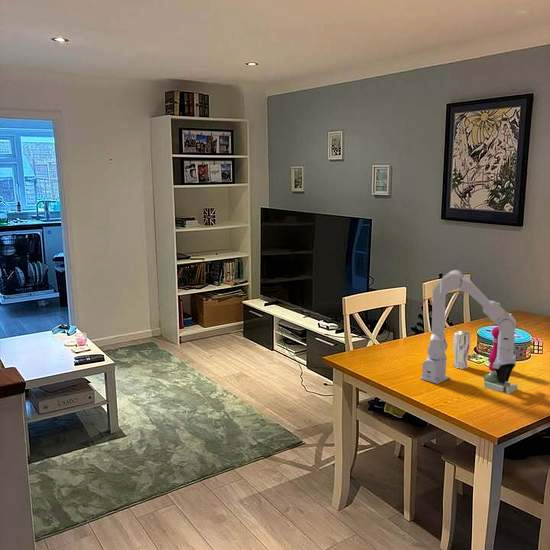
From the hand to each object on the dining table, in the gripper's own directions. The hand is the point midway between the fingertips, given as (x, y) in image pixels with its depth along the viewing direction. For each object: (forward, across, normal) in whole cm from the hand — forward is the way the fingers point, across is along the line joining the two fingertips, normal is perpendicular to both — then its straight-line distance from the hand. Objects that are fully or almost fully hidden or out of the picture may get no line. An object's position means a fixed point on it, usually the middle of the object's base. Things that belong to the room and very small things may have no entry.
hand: (503, 382), depth 207 cm
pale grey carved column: (+3, +10, +23) cm, 25 cm away
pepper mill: (+3, +18, +11) cm, 21 cm away
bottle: (+1, 0, +6) cm, 6 cm away
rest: (+3, 0, +1) cm, 3 cm away
